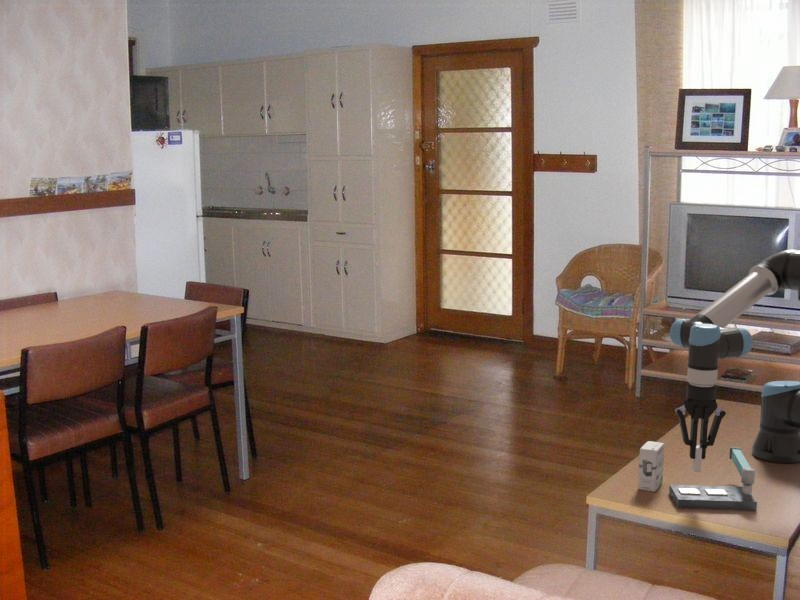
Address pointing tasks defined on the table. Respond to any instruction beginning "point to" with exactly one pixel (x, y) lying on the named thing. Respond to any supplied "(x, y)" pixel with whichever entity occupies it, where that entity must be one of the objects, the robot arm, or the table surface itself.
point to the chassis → (713, 497)
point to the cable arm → (742, 465)
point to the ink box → (651, 466)
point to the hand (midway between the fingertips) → (696, 470)
